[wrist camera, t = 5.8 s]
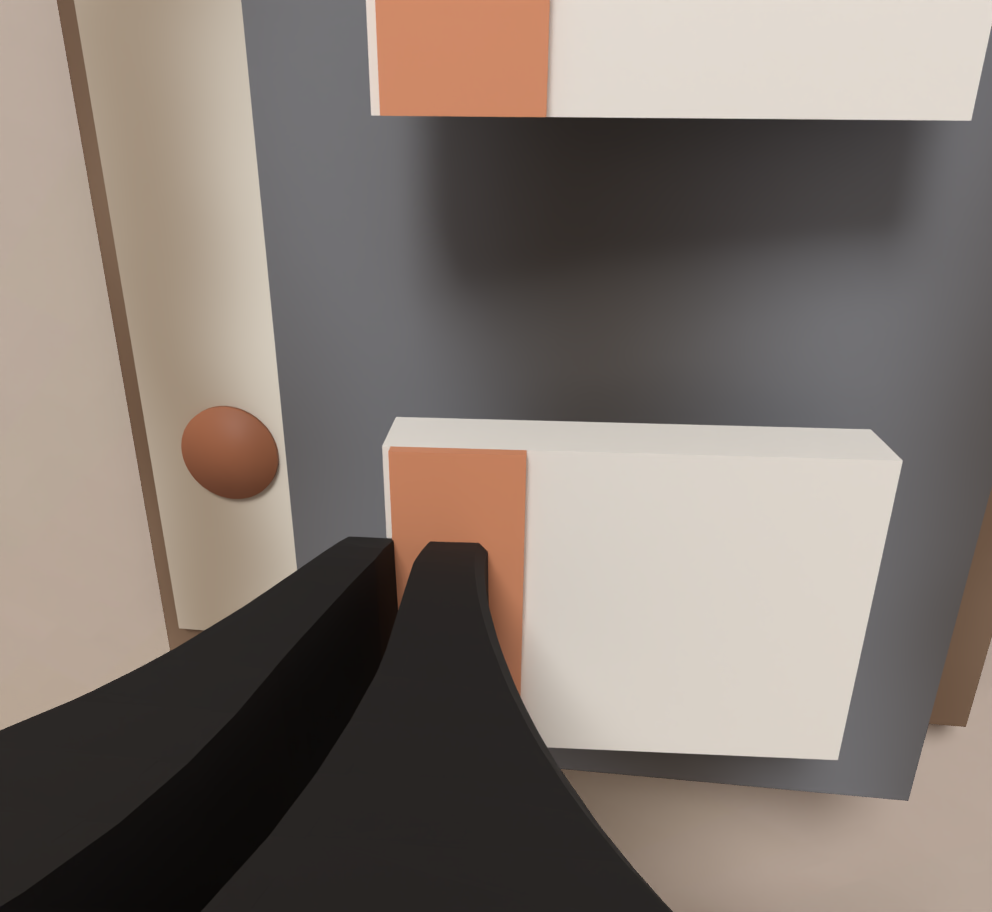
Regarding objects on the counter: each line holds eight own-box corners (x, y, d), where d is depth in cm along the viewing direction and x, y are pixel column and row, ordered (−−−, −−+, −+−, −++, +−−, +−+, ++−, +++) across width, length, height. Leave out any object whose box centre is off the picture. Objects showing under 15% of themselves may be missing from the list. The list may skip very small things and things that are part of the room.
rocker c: (857, 415, 11) (908, 465, 9) (805, 688, 13) (841, 768, 11) (402, 404, 11) (379, 450, 10) (412, 672, 13) (394, 748, 11)
